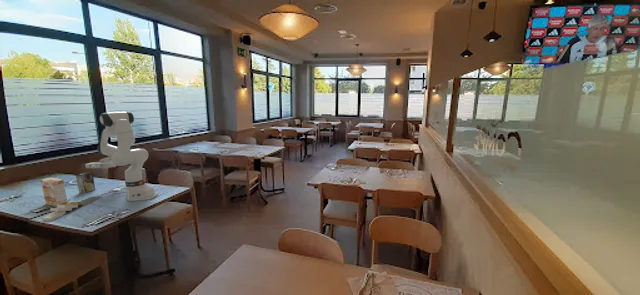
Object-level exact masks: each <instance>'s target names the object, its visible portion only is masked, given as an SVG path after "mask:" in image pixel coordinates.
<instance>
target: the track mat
mask: <svg viewBox="0 0 640 295" xmlns="http://www.w3.org/2000/svg"><path fill="white" fill-rule="evenodd" d="M102 198H103V196H90V197H87V198H86V199H83V200H81V201H80V202H84V205H78V208H72V211H65V212H66V214H64V215H63V216H68V215H70V214H71V213H74V212H75V211H78V210H79V209H82V208H84V207H86V206H88V205H89V204H92V203H94V202H96V201H98V200H101V199H102Z"/></svg>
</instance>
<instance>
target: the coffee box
mask: <svg viewBox="0 0 640 295" xmlns="http://www.w3.org/2000/svg"><path fill="white" fill-rule="evenodd" d="M75 178H76V183H77V184H76V185H77V190H78V193H79V194H86V193H89V192H92V191H96V185H95V180H94V175H93V172H82V173H79V174H76V175H75Z"/></svg>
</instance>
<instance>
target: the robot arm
mask: <svg viewBox="0 0 640 295" xmlns="http://www.w3.org/2000/svg"><path fill="white" fill-rule="evenodd" d="M99 121H100V123H101V125H102V126H104V127H105V128H103V129H102V130H101V132H100V138H99V144H98V146H97V153H99V154H100V155H104V156H105V155H106V156H107V157H103V158H101V159H99V161H95V162H94V161H93V162H89V163H85V164H84V165H85V168H86V169H98V168H99V169H105V170H106V169H109V168H116V167H117V166H120V167H121V166H127V165H129V167H128V168H127V169H125V170H124V178H125V182H124V184H125V187H126V194H125V200H126V201H127V202H133V201H134V202H135V201H146V200H151V199H154V198H156V197H157V196H158V195H159V192H157V191H156V192H155V189H154V187H153V186H151V185H149V184H148V183H146V179H143V173H142V170H143V166H144V163H145V162H146V161H147V160H148V158H149V152H148V150H147V149H145V148H134V149H133V148H132V149H131V146H133V145H134V144H135V143H136V138H135V134H134V130H133V128H132V125H131V124H133V123H134V121H135V116H134V114H133V113H132V112H131V111H127V110H126V111H110V112H103V113H101V114H100V115H99ZM115 137H116V139H117V146H116V145H112V144H111V143H110V144H109V142H108V140H109V138H115Z"/></svg>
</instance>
